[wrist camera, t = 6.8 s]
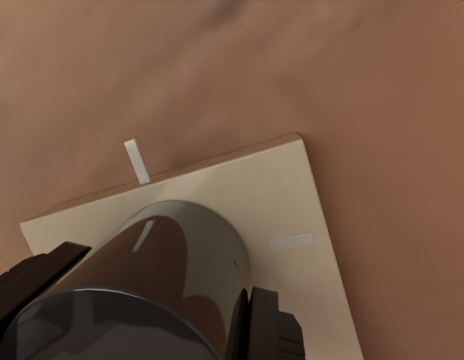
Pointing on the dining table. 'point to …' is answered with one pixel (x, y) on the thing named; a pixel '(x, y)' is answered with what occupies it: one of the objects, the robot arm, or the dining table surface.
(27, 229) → the hob panel
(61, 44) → the dining table surface
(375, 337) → the dining table surface
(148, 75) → the dining table surface
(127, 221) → the hob knob
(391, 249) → the dining table surface
